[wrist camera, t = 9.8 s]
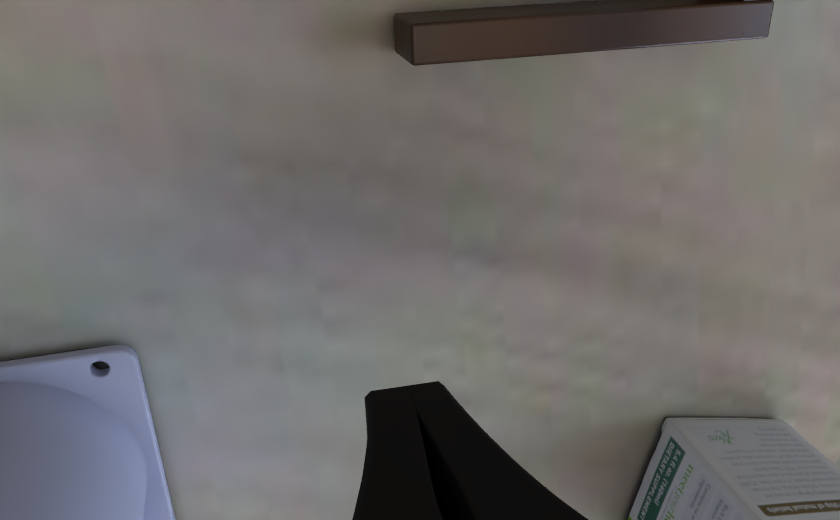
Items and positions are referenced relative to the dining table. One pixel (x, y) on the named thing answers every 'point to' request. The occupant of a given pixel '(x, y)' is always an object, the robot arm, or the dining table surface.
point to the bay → (574, 28)
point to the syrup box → (736, 473)
